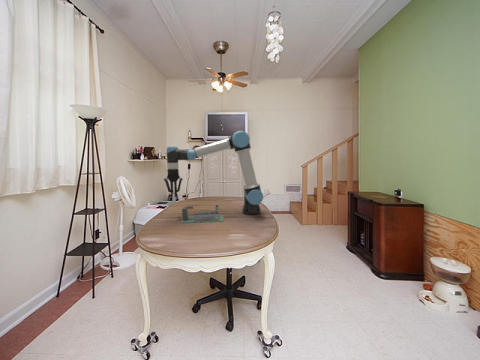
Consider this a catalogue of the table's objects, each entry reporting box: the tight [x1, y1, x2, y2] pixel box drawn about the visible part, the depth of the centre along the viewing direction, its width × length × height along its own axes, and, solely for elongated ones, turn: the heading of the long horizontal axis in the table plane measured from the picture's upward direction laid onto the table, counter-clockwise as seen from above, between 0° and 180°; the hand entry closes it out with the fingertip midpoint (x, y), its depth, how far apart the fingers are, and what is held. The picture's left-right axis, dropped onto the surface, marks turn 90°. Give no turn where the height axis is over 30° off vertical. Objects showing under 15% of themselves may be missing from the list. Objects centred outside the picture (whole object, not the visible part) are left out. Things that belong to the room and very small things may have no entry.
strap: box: [194, 207, 216, 211], centre depth 152 cm, size 17×4×1 cm, turn 95°
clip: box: [181, 205, 195, 220], centre depth 151 cm, size 7×6×9 cm
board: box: [179, 214, 224, 224], centre depth 153 cm, size 30×13×1 cm, turn 95°
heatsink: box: [193, 204, 220, 221], centre depth 153 cm, size 17×11×9 cm, turn 95°
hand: (174, 201), depth 150 cm, fingers closed
